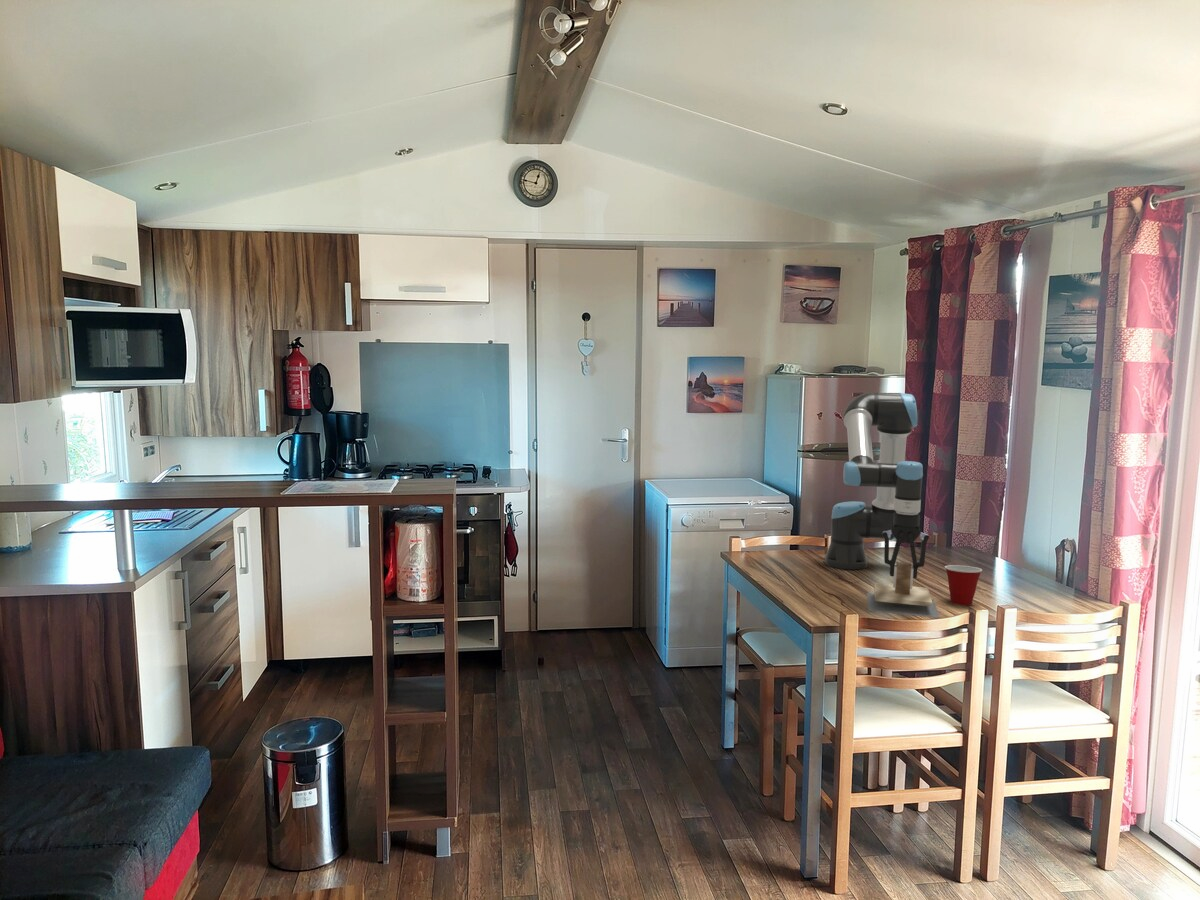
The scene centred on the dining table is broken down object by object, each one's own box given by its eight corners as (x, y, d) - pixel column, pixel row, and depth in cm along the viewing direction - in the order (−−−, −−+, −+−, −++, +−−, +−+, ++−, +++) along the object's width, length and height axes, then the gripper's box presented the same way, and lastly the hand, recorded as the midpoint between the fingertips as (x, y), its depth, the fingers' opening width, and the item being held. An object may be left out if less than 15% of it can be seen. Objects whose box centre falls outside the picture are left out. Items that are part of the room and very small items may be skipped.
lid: (875, 601, 249) (877, 568, 248) (874, 586, 265) (875, 555, 263) (932, 606, 245) (934, 572, 244) (927, 591, 260) (929, 559, 259)
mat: (867, 613, 248) (867, 610, 248) (866, 595, 267) (867, 593, 267) (939, 620, 242) (939, 617, 242) (933, 601, 261) (933, 599, 261)
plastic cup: (972, 600, 264) (975, 563, 263) (985, 610, 253) (987, 571, 252) (937, 598, 265) (939, 561, 264) (948, 608, 254) (950, 570, 253)
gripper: (877, 512, 250) (873, 587, 253) (938, 516, 245) (933, 593, 248) (877, 508, 258) (873, 581, 260) (936, 512, 253) (931, 586, 255)
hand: (902, 587), depth 254 cm, fingers closed on lid, 4 cm apart
